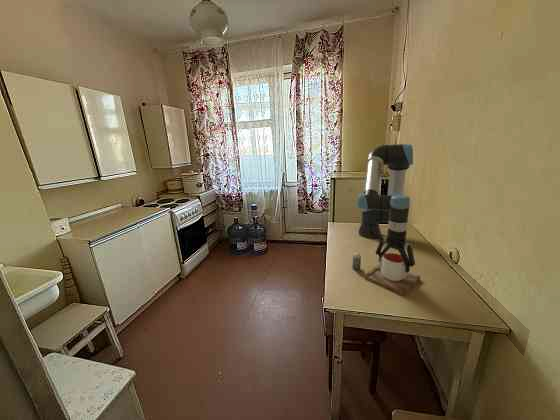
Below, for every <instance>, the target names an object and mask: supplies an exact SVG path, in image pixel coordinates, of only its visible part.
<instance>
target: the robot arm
mask: <svg viewBox="0 0 560 420" xmlns="http://www.w3.org/2000/svg"><path fill="white" fill-rule="evenodd" d="M413 149H414V148H413V145H412V144H410V143H407V144H405V143H401V144H400V143H399V144H382V145H378V146H377V147H375V148H374V149H372V150H371V151H370V152H369V154H368V155H367V157H366V160H365V166H366V172H365V177H364V178H365V179H364V185H363V193H360V194H358V196H357V208H358V209H361V211H362V212H361V213H362V214H361V225H360V227H359V229H358V235H359V236H361V237H363V238H369V239H376V238H379V239H380V241H379V244H378V245H377V248H376V251H375V255H377V256H378V263H379V265H380V270H382V258H383V255H384V254H386V253H387V252H388V251H389V250H390V249H395V250H397V251H398V252H399V255H401V256H402V258H403V261H404V263H405V265H404V266H403V275H402V278H403V279H404V278H406V276H407V273H410V269H411V267H414V266H415V265H416V262H415V256H414V251H413V247H414V244H413V243H408V242H406V238H407V230H408V222H409V221H408V220H409V212H410V206H411V198H410V196H408V195H405V194H404V195H403V192H404V186H405V179H406V173H407V170H408V169H410V166H412V165H413V164H414V152H413V151H414V150H413ZM383 166H387V169H388V170H389V176H388V177H389V178H388V188H387V189H388V190H387V195H386V194H379V193H380V186H381V185H380V184H381V173H382V167H383ZM380 223H388V225H387V228H388V229H387V234H386V235H387V237H386V236H385V235H383V236H381V235H382V231H381V228H380V227H381V226H380ZM386 242H387V245H386V246H385V247H384V245H385V243H386ZM383 247H384V248H383ZM405 247H406V249H405ZM382 249H383V250H382ZM406 252H407V253H406Z"/></svg>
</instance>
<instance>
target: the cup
mask: <svg viewBox="0 0 560 420" xmlns="http://www.w3.org/2000/svg"><path fill="white" fill-rule="evenodd" d="M404 265H405V263H404V261H403V258H402V256H401V254H400V253H395V252H388V253H387V252H386V253H385V254H384V255H383V258H382V270H381V273H382V275H383V277H385V278H386V279H388V280H391V281H401V280H403V278H402V275H403V266H404Z"/></svg>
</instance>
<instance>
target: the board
mask: <svg viewBox="0 0 560 420" xmlns="http://www.w3.org/2000/svg"><path fill="white" fill-rule="evenodd" d="M421 277H422V276H421V275H419V274H413V273H410V272H408V273H407V276H406V278H404V279H403V280H401V281H391V280H388V279H386V278H385V277H383V275H382V273H381V270H380V264H378V265H377V266H376V267H374V268H373V269H371V270H370V271H368V272H367V273H365V274H364V280H367V281H369V282H372V283H374V284H375V285H378V286H380V287H382V288H385V289H387V290H389V291H391V292H393V293H395V294H398V295H400V296H401V297H404V295H405V294H406V293H407V292H408V291H410V290H411V289H412V288H413V287H414V286H415V285H417V283H418V282H419V281H420V280H421Z"/></svg>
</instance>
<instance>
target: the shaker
mask: <svg viewBox="0 0 560 420" xmlns="http://www.w3.org/2000/svg"><path fill="white" fill-rule="evenodd" d="M361 262H362V255H361V254H360V253H358V252H355V253H354V254H353V255H352V266H351V267H352V270H354V271H357V272H358V271H361V265H362V263H361Z"/></svg>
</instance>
